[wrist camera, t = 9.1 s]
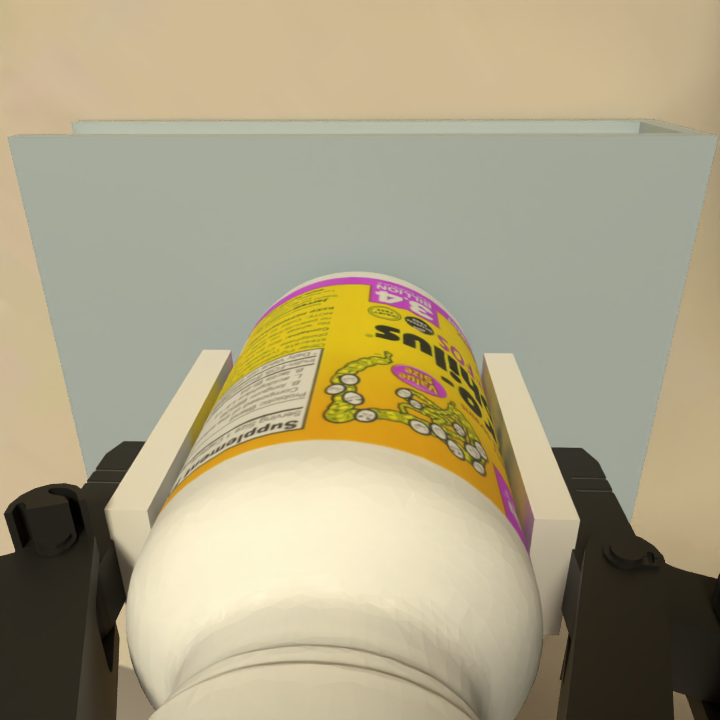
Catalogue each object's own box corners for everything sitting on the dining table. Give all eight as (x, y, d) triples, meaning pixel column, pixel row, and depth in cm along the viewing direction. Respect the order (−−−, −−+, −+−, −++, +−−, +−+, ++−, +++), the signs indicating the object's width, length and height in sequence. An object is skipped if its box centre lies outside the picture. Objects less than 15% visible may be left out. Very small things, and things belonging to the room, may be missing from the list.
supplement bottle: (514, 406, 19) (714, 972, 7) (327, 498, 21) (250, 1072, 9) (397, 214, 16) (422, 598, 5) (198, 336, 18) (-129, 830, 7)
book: (653, 119, 20) (718, 136, 16) (589, 467, 25) (625, 542, 21) (80, 120, 20) (7, 136, 16) (143, 459, 26) (100, 530, 22)
